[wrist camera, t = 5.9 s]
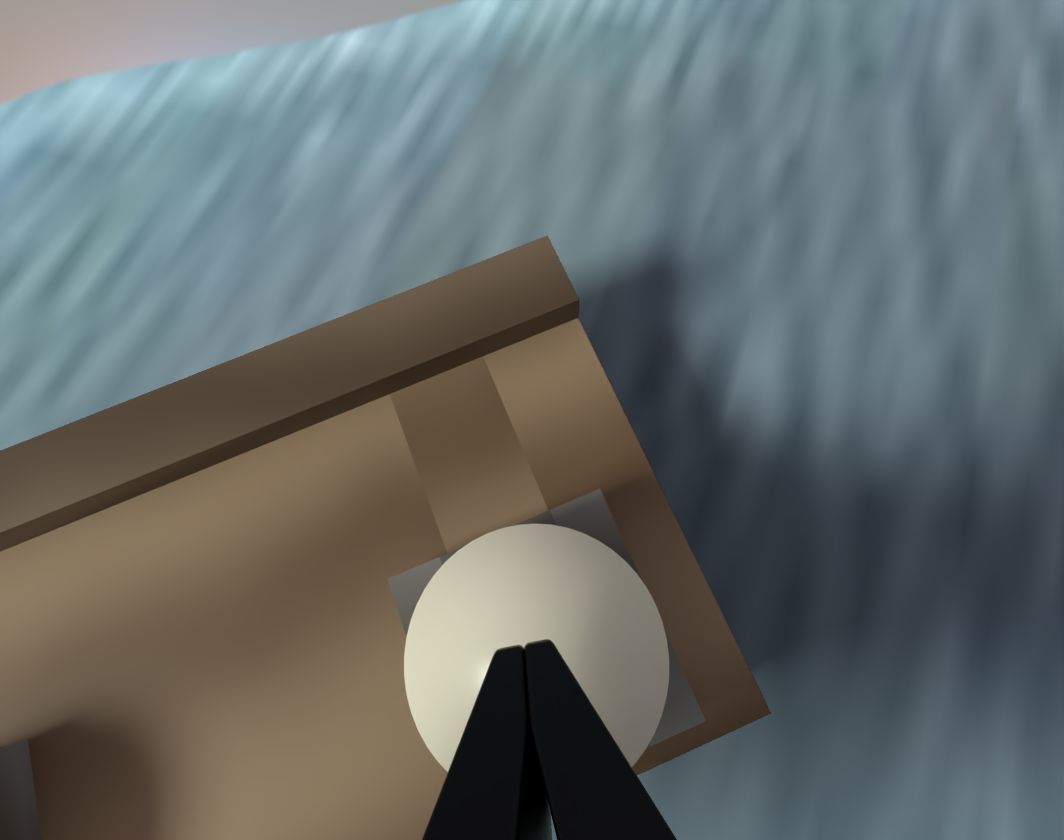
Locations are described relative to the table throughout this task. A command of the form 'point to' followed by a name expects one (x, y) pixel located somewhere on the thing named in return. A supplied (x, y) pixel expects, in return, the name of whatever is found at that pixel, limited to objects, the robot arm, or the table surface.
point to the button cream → (537, 631)
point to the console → (313, 566)
